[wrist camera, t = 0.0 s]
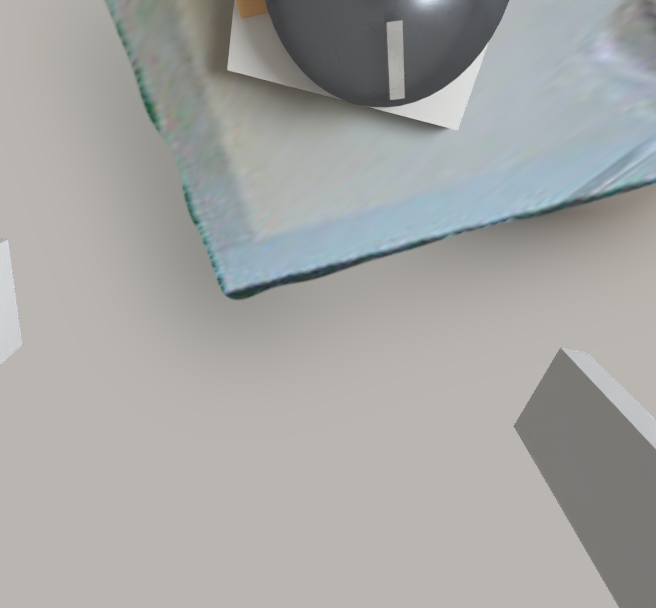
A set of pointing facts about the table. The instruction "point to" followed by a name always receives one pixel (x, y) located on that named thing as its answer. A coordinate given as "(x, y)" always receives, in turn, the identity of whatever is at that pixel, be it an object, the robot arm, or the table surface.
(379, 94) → the dial
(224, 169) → the table surface
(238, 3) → the plate
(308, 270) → the table surface
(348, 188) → the table surface
